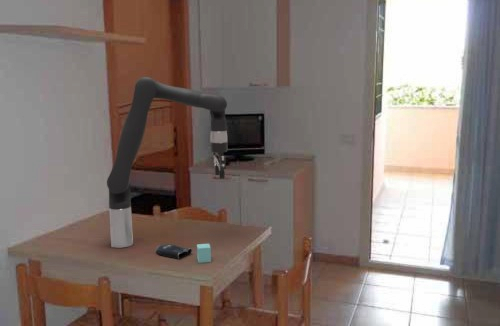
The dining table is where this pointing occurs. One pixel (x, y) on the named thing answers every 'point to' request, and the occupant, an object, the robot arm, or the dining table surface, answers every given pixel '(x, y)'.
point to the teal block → (203, 253)
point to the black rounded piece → (172, 251)
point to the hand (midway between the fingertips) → (219, 176)
